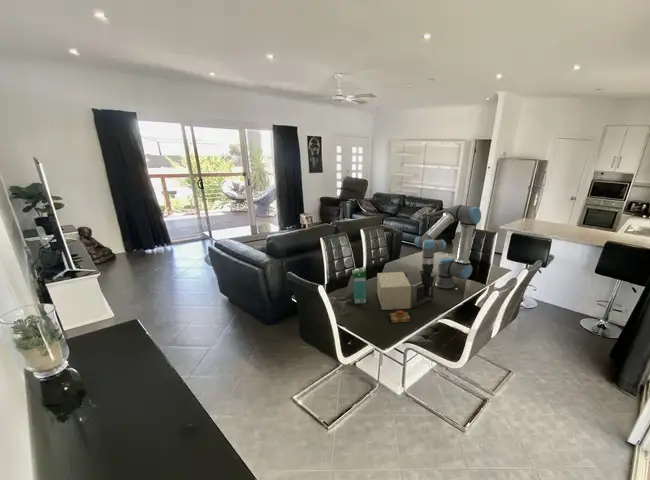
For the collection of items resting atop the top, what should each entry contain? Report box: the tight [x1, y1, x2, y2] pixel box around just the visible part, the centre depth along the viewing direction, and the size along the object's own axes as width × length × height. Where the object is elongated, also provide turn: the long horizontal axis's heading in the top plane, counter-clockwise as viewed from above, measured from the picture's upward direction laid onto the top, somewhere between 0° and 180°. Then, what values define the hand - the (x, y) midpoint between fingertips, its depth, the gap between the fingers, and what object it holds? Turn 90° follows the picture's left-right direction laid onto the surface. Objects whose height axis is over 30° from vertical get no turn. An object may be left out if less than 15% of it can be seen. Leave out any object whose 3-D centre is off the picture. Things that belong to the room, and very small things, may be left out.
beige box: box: [376, 271, 412, 311], centre depth 232 cm, size 22×28×17 cm
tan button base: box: [389, 311, 411, 324], centre depth 209 cm, size 12×9×4 cm
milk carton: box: [352, 266, 368, 305], centre depth 231 cm, size 9×9×25 cm
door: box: [410, 281, 435, 309], centre depth 225 cm, size 5×21×17 cm, turn 133°
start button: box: [396, 309, 404, 315], centre depth 208 cm, size 4×4×2 cm
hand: (426, 295), depth 223 cm, fingers closed
